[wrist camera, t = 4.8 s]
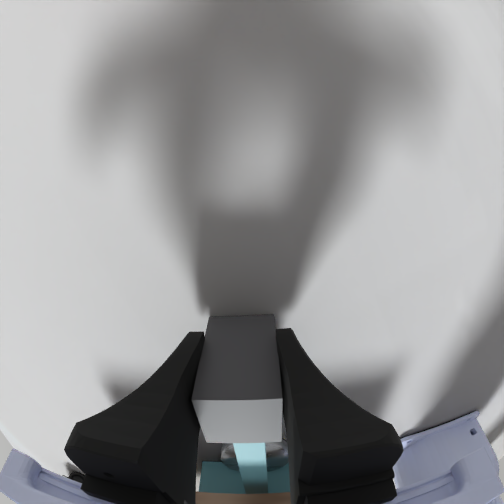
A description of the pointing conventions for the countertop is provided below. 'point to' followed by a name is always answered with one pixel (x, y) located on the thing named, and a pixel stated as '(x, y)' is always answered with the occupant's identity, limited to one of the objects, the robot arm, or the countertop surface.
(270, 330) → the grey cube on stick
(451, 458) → the robot arm
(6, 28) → the countertop surface
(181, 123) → the countertop surface
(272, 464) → the steel token
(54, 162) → the countertop surface
